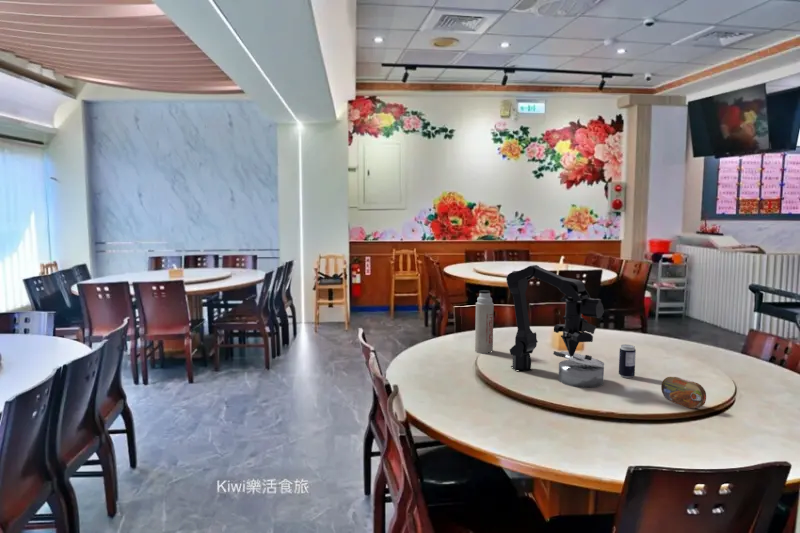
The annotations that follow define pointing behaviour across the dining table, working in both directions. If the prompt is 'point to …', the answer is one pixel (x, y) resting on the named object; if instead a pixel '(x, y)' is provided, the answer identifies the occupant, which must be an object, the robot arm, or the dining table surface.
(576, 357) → the cooker lid
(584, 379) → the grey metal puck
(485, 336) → the thermos bottle
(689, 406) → the tin
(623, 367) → the beverage can
